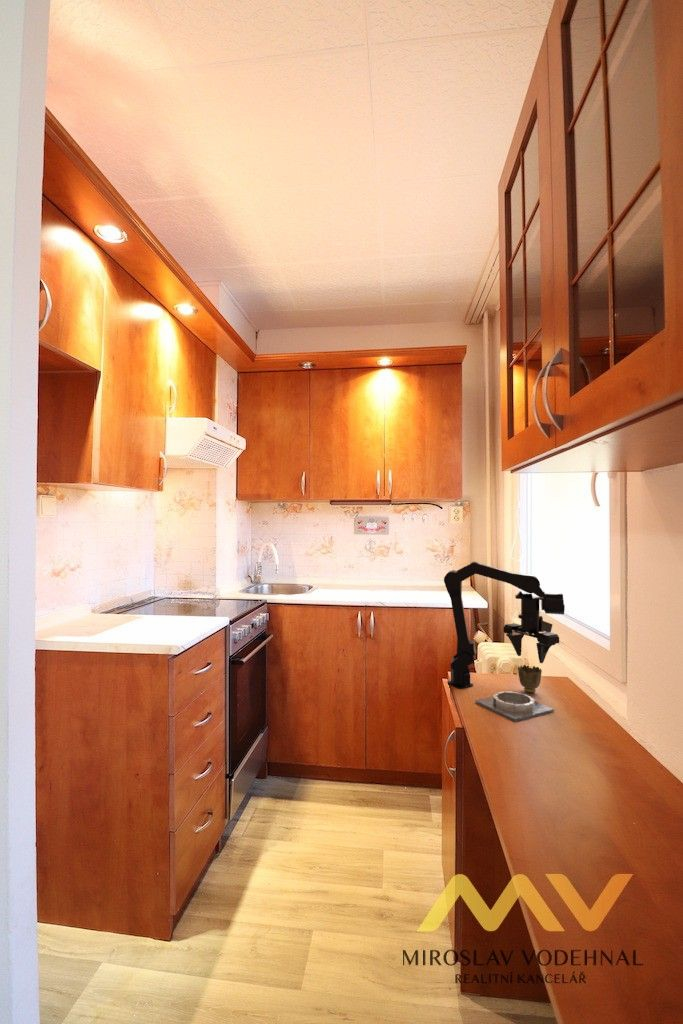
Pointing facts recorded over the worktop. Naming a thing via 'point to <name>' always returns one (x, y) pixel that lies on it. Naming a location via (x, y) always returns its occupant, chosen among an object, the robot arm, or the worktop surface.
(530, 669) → the cup
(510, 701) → the cup bracket
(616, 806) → the worktop surface
